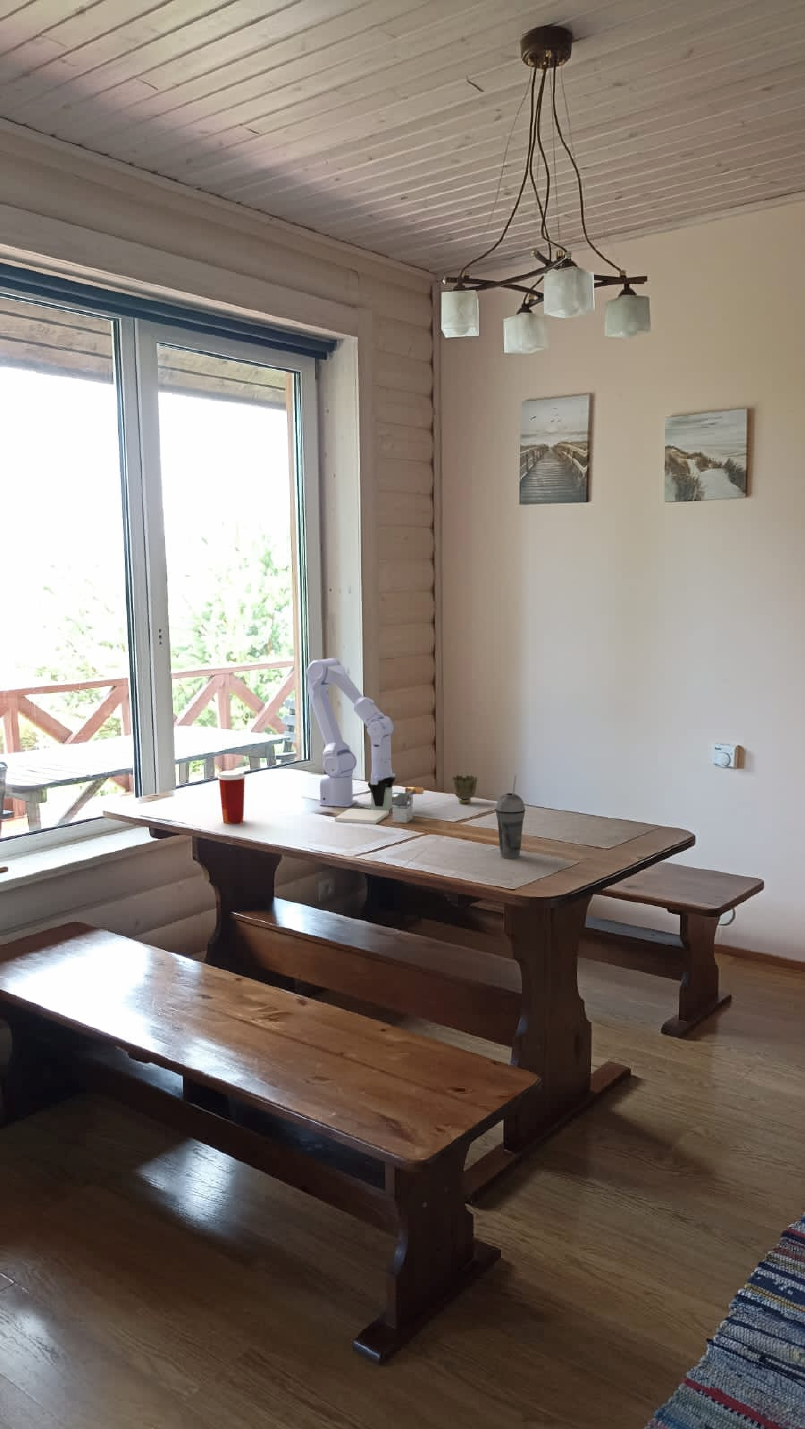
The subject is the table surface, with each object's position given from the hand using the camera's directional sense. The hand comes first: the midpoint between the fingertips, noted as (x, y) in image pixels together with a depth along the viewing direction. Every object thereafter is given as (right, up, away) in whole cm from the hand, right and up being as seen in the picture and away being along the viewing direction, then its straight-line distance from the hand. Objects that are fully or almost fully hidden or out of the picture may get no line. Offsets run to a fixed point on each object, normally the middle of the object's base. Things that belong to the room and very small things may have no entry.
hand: (381, 804), depth 296 cm
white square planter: (+6, -3, -14) cm, 16 cm away
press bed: (-5, -3, -11) cm, 12 cm away
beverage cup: (+32, -8, -52) cm, 62 cm away
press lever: (+7, +2, -11) cm, 13 cm away
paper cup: (-42, -4, -13) cm, 44 cm away
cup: (+25, -1, +6) cm, 26 cm away
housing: (0, -1, 0) cm, 1 cm away
